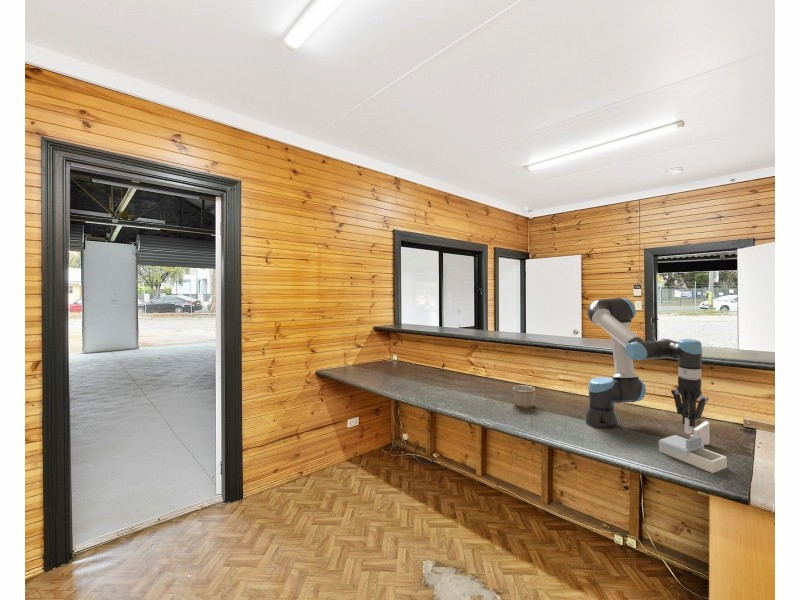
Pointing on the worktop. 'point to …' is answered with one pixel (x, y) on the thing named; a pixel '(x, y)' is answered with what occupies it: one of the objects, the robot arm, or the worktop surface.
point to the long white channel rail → (700, 458)
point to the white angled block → (702, 432)
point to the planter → (524, 396)
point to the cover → (681, 444)
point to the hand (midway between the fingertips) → (688, 432)
